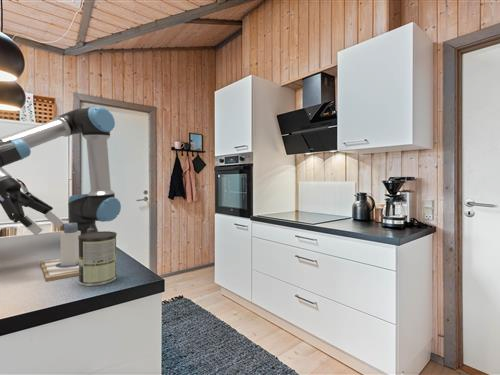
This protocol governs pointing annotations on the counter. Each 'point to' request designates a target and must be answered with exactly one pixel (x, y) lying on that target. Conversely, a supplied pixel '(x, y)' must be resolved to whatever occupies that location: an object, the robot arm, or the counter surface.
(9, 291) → the counter surface
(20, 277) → the counter surface
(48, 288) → the counter surface
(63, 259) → the dome-capped white pillar
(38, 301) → the counter surface
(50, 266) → the picture frame
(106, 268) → the coffee can
